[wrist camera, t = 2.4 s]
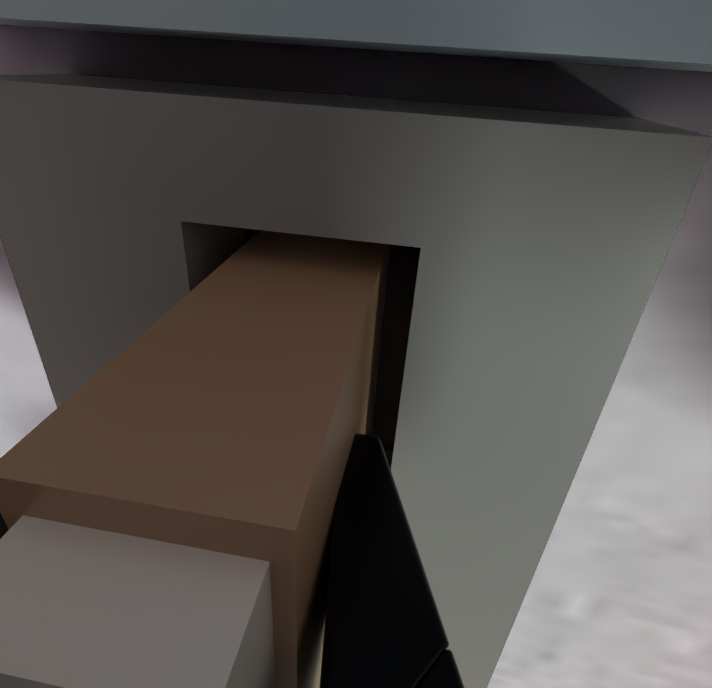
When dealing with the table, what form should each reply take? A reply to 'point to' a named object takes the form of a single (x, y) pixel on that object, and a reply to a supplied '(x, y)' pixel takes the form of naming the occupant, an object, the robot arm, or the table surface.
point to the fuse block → (378, 225)
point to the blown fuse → (197, 483)
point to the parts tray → (414, 26)
